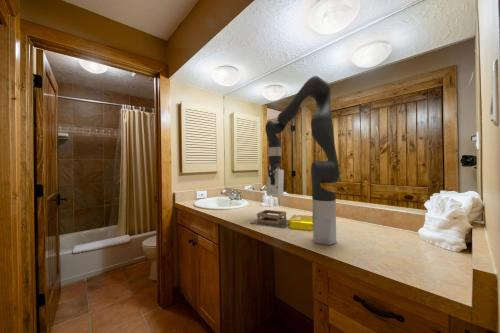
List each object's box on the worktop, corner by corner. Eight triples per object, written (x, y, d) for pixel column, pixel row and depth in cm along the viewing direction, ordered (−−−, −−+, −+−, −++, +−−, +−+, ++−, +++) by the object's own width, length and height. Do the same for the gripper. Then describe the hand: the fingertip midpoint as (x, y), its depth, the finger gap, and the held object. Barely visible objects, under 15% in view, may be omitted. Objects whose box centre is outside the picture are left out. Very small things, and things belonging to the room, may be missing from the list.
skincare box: (266, 195, 120) (265, 169, 120) (272, 194, 124) (271, 169, 125) (278, 196, 114) (278, 169, 115) (284, 195, 119) (283, 169, 119)
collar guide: (284, 228, 104) (283, 217, 104) (249, 223, 114) (249, 213, 114) (293, 221, 117) (293, 211, 117) (262, 217, 127) (261, 208, 127)
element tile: (319, 232, 99) (319, 222, 99) (288, 229, 104) (288, 219, 104) (320, 224, 113) (320, 215, 113) (293, 222, 118) (293, 213, 118)
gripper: (275, 154, 112) (276, 185, 111) (285, 156, 124) (285, 183, 124) (263, 155, 116) (263, 185, 115) (273, 156, 128) (274, 183, 128)
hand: (275, 184), depth 119 cm, fingers closed on skincare box, 6 cm apart
